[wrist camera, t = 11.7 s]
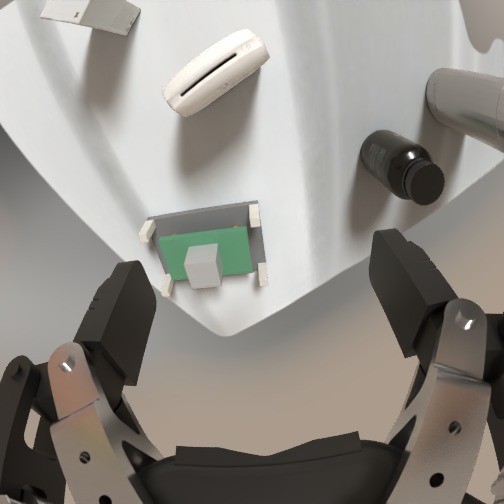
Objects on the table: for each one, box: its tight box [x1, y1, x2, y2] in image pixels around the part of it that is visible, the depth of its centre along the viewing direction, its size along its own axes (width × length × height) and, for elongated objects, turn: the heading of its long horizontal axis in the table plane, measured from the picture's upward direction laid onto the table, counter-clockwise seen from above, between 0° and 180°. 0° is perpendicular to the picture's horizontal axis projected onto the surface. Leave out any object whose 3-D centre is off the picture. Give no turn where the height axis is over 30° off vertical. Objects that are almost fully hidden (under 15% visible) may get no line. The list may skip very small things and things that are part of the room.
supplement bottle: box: [361, 130, 445, 206], centre depth 30 cm, size 7×7×12 cm
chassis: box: [138, 201, 269, 297], centre depth 40 cm, size 16×11×5 cm
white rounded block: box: [162, 29, 270, 117], centre depth 24 cm, size 10×4×12 cm, turn 126°
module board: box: [158, 226, 253, 289], centre depth 37 cm, size 12×7×5 cm, turn 97°
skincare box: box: [40, 0, 141, 36], centre depth 18 cm, size 6×4×12 cm
